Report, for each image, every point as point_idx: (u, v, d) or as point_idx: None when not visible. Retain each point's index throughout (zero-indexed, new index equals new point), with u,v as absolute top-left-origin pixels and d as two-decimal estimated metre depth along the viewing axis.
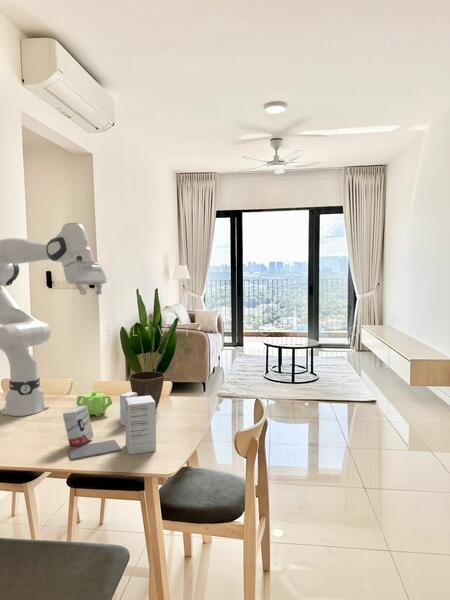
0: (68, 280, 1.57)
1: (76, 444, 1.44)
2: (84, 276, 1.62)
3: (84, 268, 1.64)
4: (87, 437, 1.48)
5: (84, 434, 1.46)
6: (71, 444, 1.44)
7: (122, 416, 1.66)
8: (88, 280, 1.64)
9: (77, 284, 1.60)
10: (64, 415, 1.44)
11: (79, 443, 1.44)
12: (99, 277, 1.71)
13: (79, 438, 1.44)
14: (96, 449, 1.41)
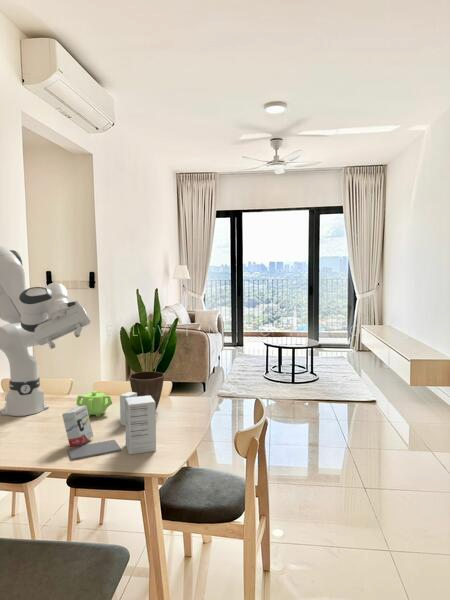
0: (87, 317, 1.53)
1: (76, 444, 1.44)
2: None
3: None
4: (87, 437, 1.48)
5: (84, 434, 1.46)
6: (71, 444, 1.44)
7: (122, 416, 1.66)
8: None
9: (80, 325, 1.52)
10: (63, 415, 1.44)
11: (79, 443, 1.44)
12: None
13: (79, 438, 1.44)
14: (96, 449, 1.41)
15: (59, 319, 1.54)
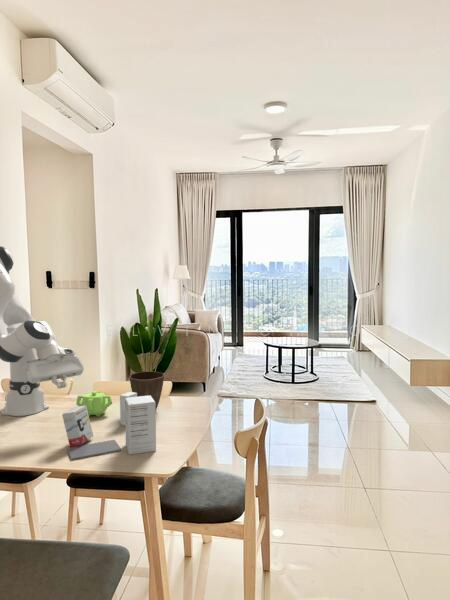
0: None
1: (76, 444, 1.44)
2: None
3: None
4: (87, 437, 1.48)
5: (84, 434, 1.46)
6: (71, 444, 1.44)
7: (122, 416, 1.66)
8: None
9: None
10: (63, 415, 1.44)
11: (79, 443, 1.44)
12: None
13: (79, 438, 1.44)
14: (96, 449, 1.41)
15: (55, 362, 1.60)
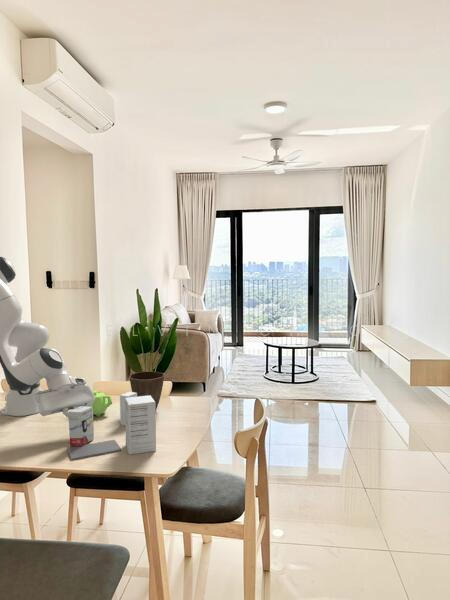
0: None
1: (76, 444, 1.44)
2: None
3: None
4: (88, 439, 1.48)
5: (86, 435, 1.46)
6: (71, 443, 1.44)
7: (122, 416, 1.66)
8: None
9: None
10: (70, 413, 1.44)
11: (80, 444, 1.44)
12: None
13: (80, 439, 1.44)
14: (96, 449, 1.41)
15: (66, 393, 1.55)
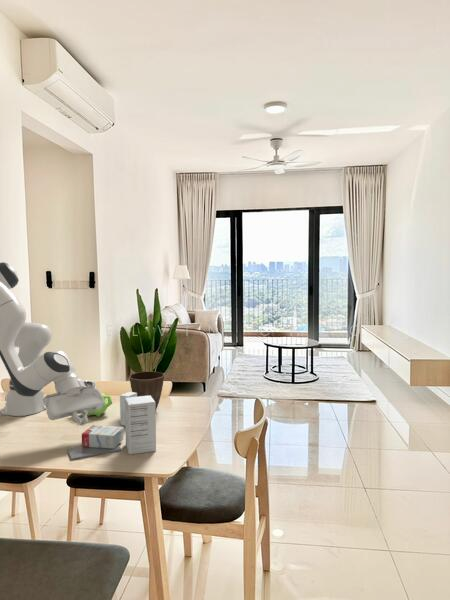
0: None
1: (83, 442, 1.43)
2: None
3: None
4: None
5: None
6: (83, 436, 1.43)
7: (122, 416, 1.66)
8: None
9: None
10: (112, 437, 1.41)
11: (83, 445, 1.43)
12: None
13: (88, 446, 1.43)
14: (96, 449, 1.41)
15: (75, 396, 1.51)
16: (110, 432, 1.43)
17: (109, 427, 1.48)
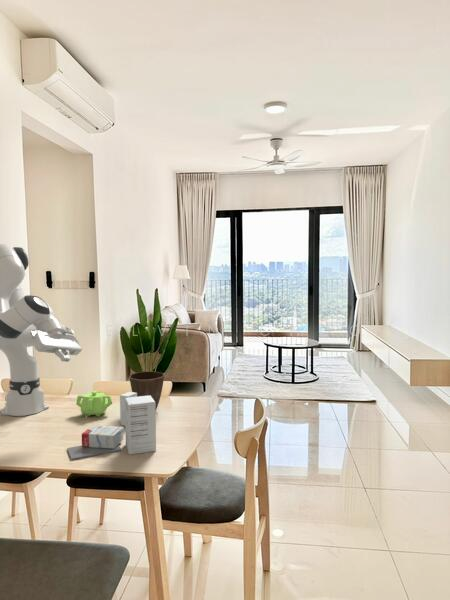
0: None
1: (83, 442, 1.43)
2: None
3: None
4: None
5: None
6: (83, 436, 1.43)
7: (122, 416, 1.66)
8: None
9: None
10: (112, 437, 1.41)
11: (83, 445, 1.43)
12: None
13: (88, 446, 1.43)
14: (96, 449, 1.41)
15: (58, 337, 1.59)
16: (110, 432, 1.43)
17: (109, 427, 1.48)
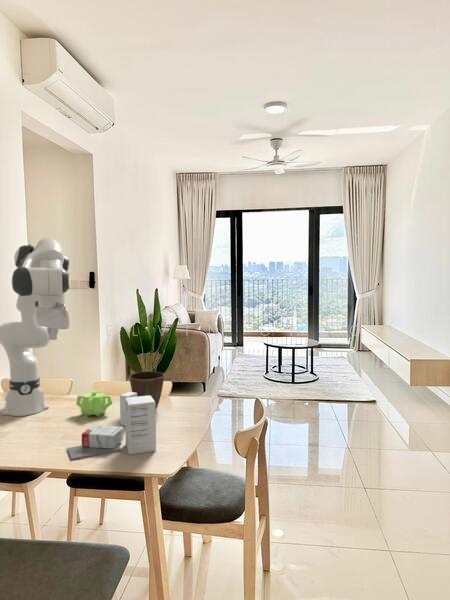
0: None
1: (83, 442, 1.43)
2: (43, 321, 1.58)
3: (45, 312, 1.57)
4: None
5: None
6: (83, 436, 1.43)
7: (122, 416, 1.66)
8: (45, 325, 1.57)
9: None
10: (112, 437, 1.41)
11: (83, 445, 1.43)
12: (54, 323, 1.52)
13: (88, 446, 1.43)
14: (96, 449, 1.41)
15: None
16: (110, 432, 1.43)
17: (109, 427, 1.48)
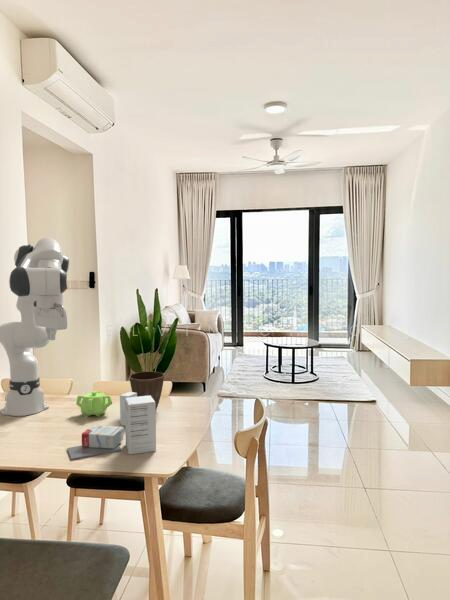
0: None
1: (83, 442, 1.43)
2: (41, 321, 1.58)
3: (43, 312, 1.57)
4: None
5: None
6: (83, 436, 1.43)
7: (122, 416, 1.66)
8: (44, 326, 1.57)
9: None
10: (112, 437, 1.41)
11: (83, 445, 1.43)
12: (52, 323, 1.52)
13: (88, 446, 1.43)
14: (96, 449, 1.41)
15: None
16: (110, 432, 1.43)
17: (109, 427, 1.48)
